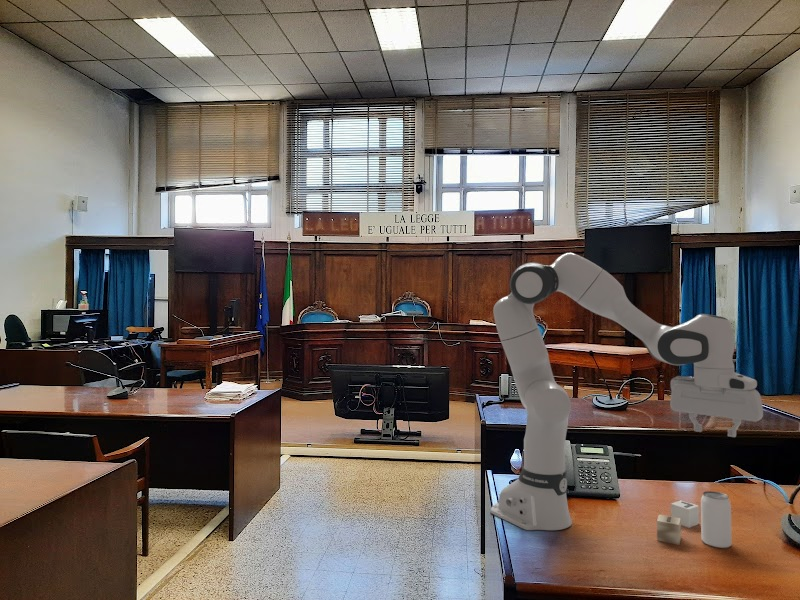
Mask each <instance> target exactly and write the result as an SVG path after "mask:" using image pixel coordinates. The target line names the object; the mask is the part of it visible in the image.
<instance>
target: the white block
mask: <svg viewBox="0 0 800 600" xmlns="http://www.w3.org/2000/svg"><path fill="white" fill-rule="evenodd" d="M670 516H671V517H677V518H681V527H685V528H688V529H690V528H693V527H695V526H697V525H700V506H699V504H698V505H697V504H695V503H691V502H687V501H684V500H681V499H680V500H678V501H675V502H671V503H670Z"/></svg>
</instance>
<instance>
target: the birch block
mask: <svg viewBox="0 0 800 600" xmlns="http://www.w3.org/2000/svg"><path fill="white" fill-rule="evenodd" d="M681 539H682V525H681V518H677V517H671V515H664V514H658V516H657V520H656V541H660V542H663V543H667V544H673V545H678V546H679V545H681V544H680V543H681Z"/></svg>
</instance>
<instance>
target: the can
mask: <svg viewBox="0 0 800 600" xmlns="http://www.w3.org/2000/svg"><path fill="white" fill-rule="evenodd" d="M700 528H701V529H700V531H701V532H700V534H701V535H700V536H701V537H700V538H701V541H702V542H703V543H704V544H705V545H707V546H710V547H712V548H718V549H728V548H730V547H731V546H732V505H731V501H730V499H729V495H727V494H726V493H723V492H719V491H713V490H707V491H703V492H702V496H701V497H700Z"/></svg>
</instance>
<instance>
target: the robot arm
mask: <svg viewBox="0 0 800 600" xmlns="http://www.w3.org/2000/svg"><path fill="white" fill-rule="evenodd" d="M510 276H511V277H510V279H509V280H510V281H509V288H510V294H508V295H506V296H503V297H501V298H500V299H499V300H497V301H496V303H495V304H494V306H493V309H492V311H493V319H494V324H495V326H496V330H497V334H498V337H499V339H500V343H501V345H502V349H503V351H504V354H505V356H506V358H507V361H508V364H509V366H510V370H511V374H512V376H513V380H514V384H515V387H516V390H517V393H518V397H519V399H520V402H521V404H522V406H523V408H525V410H526V413H527V414H526V426H525V427H526V428H525V434H524V438H523V466H521V467H519V468H518V469H515V471H516V472H515V475H517V474H519V475H518V479H516V480H515V481H513V482H511V483H510V484H509V485H507V486H506V487H504V488H502V490H501V491H500V493H499V498H498V502H496V503H495V504H493V505H492V506H491V507H490V514H492V515H493V516H496V517H498V518H500V519H503V520H504V521H507V522H509V523H510V524H513V525H515V526H517V527H519V528H521V529H524V531H537V530H540V531H559V530H564V529H567V528H569V527H571V526H572V523H573V522H572V519H571V515H570V511H569V507H568V506H569V505H568V499H567V497H568V496H567V490H568V474H567V472H568V471H567V470H566V438H567V431H568V424H569V416H570V413H571V410H572V403H571V399H570V397H569V394H568V393H567V391H566V390H565V388H564V387H563V386H561V385H559V384H557V382H556V381H555V380H556V379H555V377H554V374H553V370H552V366H551V363H550V357H549V352H548V349H547V347H546V344H545V342H544V339H543V337H542V334H541V331H540V328H539V325H538V323H537V320H536V318H535V314H534V306H535V304H538V303H541V302H542V301H544V300H545V299H547V298H548V297H549V296H552V294H553V293H555V292H559V293H562V294H564V295H566V296H567V297H569V298H570V299H572V300H573V301H574V302H576V303H577V304H578V305H579V306H581V307H583V308H584V309H586V310H589V312H592V313H594V314H597V315H599V316H601V317H604V318H606V319H609V320H611V321H614V322H615V323H618V324H619V325H620V326H622V327H623V328H624V329H626V330H627V331H628V332H629V333H631V334H632V335H634V336H635V337H636V338H637V339H639V340H640V342H642V344H643V345H644V348H646V351H647V353H648V354H650V356H651V357H652V358H653V359H655V360H656V361H658V362H661V363H666V364H669V365H673V366H683V365H688V364H693V376H682V375H676V376H675V377H673V378H671V380H670V390H671V393H670V402H669V403H670V405H669V406H670V408H671V410H672V411H673V412H678V413H679V412H680V413H687V414H688V418H689V420H690V421H691V423H692V424H693V431H694V432H697V433H698V432H699V433H701V432H703V424H702V423H699V421H698V420H697V417H698V415H702V416H708V417H709V416H711V417H718V418H726V419H732V424H734V425H733V426H732V427H731V428H727V431H726V432H727V437H730V438H736V437H737V429H739V427H740V426H741V424H742V421H747V422H748V421H749V422H754V423H755V422H759V421H760V420H762V418H763V417H764V407H763V399H762V397H761V393H759V391H758V390H757V389H756V388H757V386H758V381H757V380H756V379H754V378H751V377H749V376H747V375H743V374H740V373H738V372H735V363H734V360H733V356H734V353H735V341H734V340H735V339H734V337H735V336H734V331H733V325H732V322H731V321H730V320H729V319H728V318H726V317H724V316H719V315H715V314H714V315H713V314H706V313H700V314H697V315H696V316H695V317H693V318H692V319H689V320H688V321H685V322H683V323H681V324H678V325H675V326H671V325H667V324H662V323H660V322H657V321H656V320H654V319H652V318H651V317H649V316H648V315H647V314H646V313H644V312H643V311H642V310H640V309H638V307H636V306H635V305H634V304H633V303H632V302H631V301H630V300H629V298H628V297H627V295H626V292H625V289H624V286H623V285H622V284H621V283H620V281H618V280H617V279H616V278H615V277H614V276H613V275H612V274H610V273H609V272H608V271H607V270H605V269H604V268H602V267H600V266H599V265H597V264H596V263H594V262H592V261H590V260H589V259H587V258H585V257H583V256H581V255H578V254H577V253H573V252H565V253H563V254H561V255H560V256H558V257H557V258H556V259H555V261H554V262H552V264H549V265H548V264H547V265H544V264H542V263H540V262H533V261H530V262H526V263H523V264H521V265H520V266H518V267H517V268H516V269H515V270H514V271H513V273H512V274H511V275H510Z"/></svg>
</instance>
